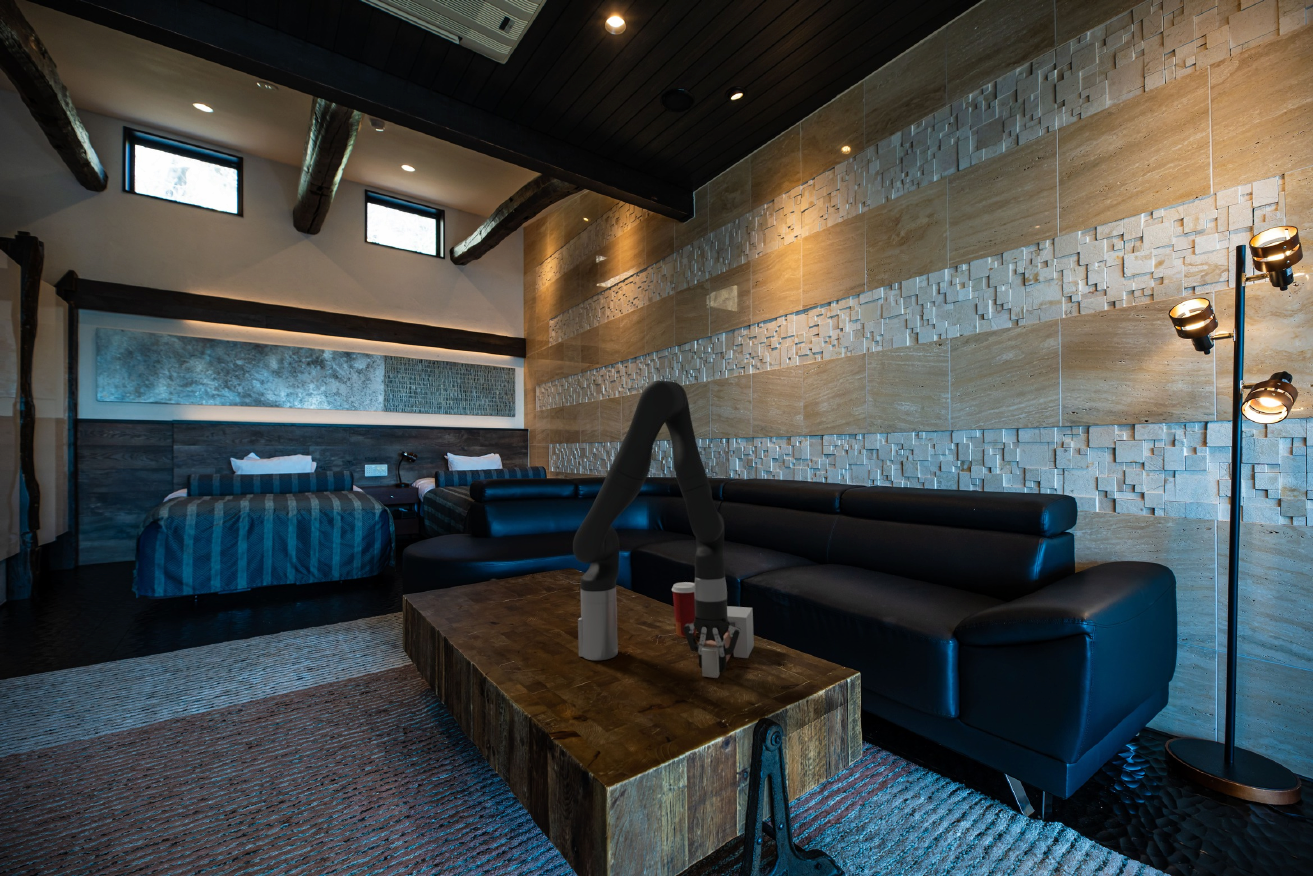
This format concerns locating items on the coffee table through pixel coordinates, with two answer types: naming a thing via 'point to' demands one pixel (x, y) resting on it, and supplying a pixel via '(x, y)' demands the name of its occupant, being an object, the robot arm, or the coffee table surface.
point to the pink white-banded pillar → (713, 657)
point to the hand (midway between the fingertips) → (713, 670)
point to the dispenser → (742, 629)
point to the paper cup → (684, 606)
